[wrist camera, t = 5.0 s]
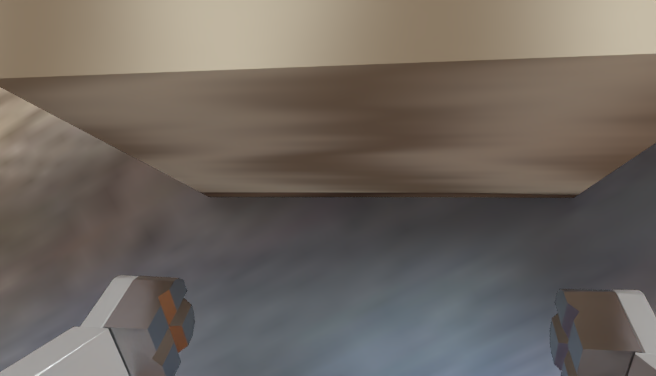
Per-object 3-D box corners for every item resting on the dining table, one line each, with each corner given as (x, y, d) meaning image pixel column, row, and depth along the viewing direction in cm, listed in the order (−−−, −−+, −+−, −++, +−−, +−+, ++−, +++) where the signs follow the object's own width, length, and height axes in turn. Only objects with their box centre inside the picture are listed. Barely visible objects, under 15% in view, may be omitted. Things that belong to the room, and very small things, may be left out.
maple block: (209, 196, 18) (-16, 79, 9) (218, 89, 19) (22, -126, 10) (573, 197, 17) (797, 48, 7) (565, 78, 17) (755, -204, 8)
